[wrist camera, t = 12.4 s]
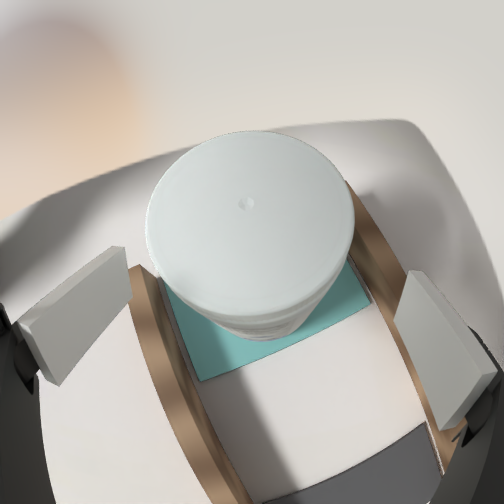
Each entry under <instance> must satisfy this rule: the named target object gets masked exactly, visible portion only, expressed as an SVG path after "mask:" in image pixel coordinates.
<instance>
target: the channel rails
mask: <svg viewBox="0 0 504 504" xmlns="http://www.w3.org/2000/svg"><path fill="white" fill-rule="evenodd" d="M345 182H346V184H347V186H348V189H349V191H350V194H351V198H352V202H353V207H354V216H355V224H354V233H353V239H352V242H351V245H350V248H349V251H348V252H349V254H350V255H351V257H352V259H353V261H354V262H355V264H356V266H357V268H358V270H359V271H360V273H361V275H362V277H363V279H364V281H365V282H366V284H367V286H368V288H369V290H370V292H371V294H372V296H373V298H374V299H375V301H376V303H377V305H378V307H379V309H380V311H381V313H382V315H383V317H384V319H385V321H386V323H387V325H388V327H389V329H390V332H391V334H392V336H393V338H394V340H395V342H396V344H397V346H398V349H399V351H400V353H401V355H402V357H403V360H404V362H405V364H406V367H407V369H408V371H409V374H410V376H411V378H412V381H413V383H414V386H415V388H416V390H417V393H418V395H419V398H420V401H421V403H422V406H423V408H424V411H425V414H426V416H427V419H428V422H429V425H430V428H431V430H432V433H433V436H434V439H435V442H436V445H437V449H438V452H439V455H440V458H441V462H442V465H443V469H444V472H446V469H447V467H448V465H449V463H450V460H451V458H452V455H453V453H454V450H455V448H456V445H457V442H458V440H459V437H458V438H457V439H456V440H455V441H454V442H451V441H452V439H453V438H454V437H455V435H456V434H457V433H458V432H459V431H460V430H461V429H462V428H463V427H464V426H465V425H466V423H467V421H466V418H465V416H464V418H463V419H462V420H461V421H460V422H459V423H458V425H457V426H456V427H454V428H450V429H446V430H442V431H439V429H438V426H437V424H436V421H435V418H434V415H433V412H432V409H431V407H430V404H429V401H428V399H427V396H426V394H425V391H424V388H423V386H422V383H421V381H420V379H419V376H418V374H417V371H416V369H415V367H414V364H413V362H412V360H411V358H410V355H409V353H408V351H407V349H406V346H405V344H404V342H403V340H402V338H401V336H400V333H399V331H398V329H397V327H396V325H395V323H394V321H393V320H394V317H395V314H396V311H397V308H398V305H399V302H400V299H401V296H402V292H403V289H404V286H405V282H406V279H407V276H406V274H405V272H404V270H403V269H402V267H401V265H400V263H399V262H398V260H397V258H396V256H395V255H394V253H393V251H392V250H391V248H390V246H389V245H388V243H387V241H386V240H385V238H384V236H383V235H382V233H381V232H380V230H379V228H378V227H377V225H376V224H375V222H374V221H373V219H372V217H371V216H370V214H369V213H368V211H367V210H366V208H365V207H364V205H363V204H362V202H361V201H360V200H359V198H358V197H357V195H356V194H355V192H354V191H353V190H352V188H351V187H350V185H349V184H348V183H347V181H346V180H345ZM128 273H129V279H130V284H131V290H132V295H133V297H132V299H131V300H130V301H129V302H128V304H129V308H130V312H131V316H132V319H133V323H134V326H135V330H136V333H137V336H138V340H139V343H140V346H141V349H142V352H143V355H144V358H145V361H146V364H147V367H148V370H149V372H150V375H151V378H152V381H153V383H154V386H155V389H156V391H157V394H158V396H159V399H160V401H161V404H162V406H163V409H164V411H165V413H166V416H167V418H168V420H169V422H170V425H171V427H172V429H173V431H174V434H175V436H176V438H177V440H178V442H179V444H180V446H181V448H182V450H183V452H184V454H185V456H186V458H187V460H188V462H189V464H190V466H191V468H192V469H193V471H194V473H195V475H196V477H197V479H198V480H199V482H200V484H201V486H202V487H203V489H204V491H205V492H206V494H207V496H208V497H209V499H210V501H211V502H212V504H254V503H253V501H252V500H251V498H250V496H249V495H248V493H247V491H246V490H245V488H244V486H243V484H242V483H241V481H240V479H239V477H238V476H237V474H236V472H235V470H234V468H233V466H232V465H231V463H230V461H229V459H228V457H227V455H226V453H225V451H224V449H223V447H222V445H221V443H220V441H219V439H218V437H217V435H216V433H215V431H214V429H213V427H212V425H211V423H210V421H209V418H208V416H207V414H206V412H205V410H204V407H203V405H202V403H201V401H200V398H199V396H198V394H197V391H196V389H195V387H194V384H193V382H192V379H191V377H190V374H189V372H188V369H187V367H186V364H185V362H184V359H183V356H182V354H181V351H180V348H179V346H178V343H177V340H176V337H175V335H174V332H173V329H172V326H171V323H170V320H169V317H168V314H167V311H166V308H165V305H164V302H163V299H162V295H161V292H160V289H159V286H158V282H157V279H156V277H154V276H153V275H152V274H151V273H149V272H148V271H147V270H146V269H145V268H143V267H142V266H141V265H140V264H139V265H137V266H135V267H132V268H130V269H128Z"/></svg>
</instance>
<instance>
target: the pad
mask: <svg viewBox="0 0 504 504" xmlns="http://www.w3.org/2000/svg"><path fill="white" fill-rule="evenodd" d="M163 281H164V280H163ZM164 284H165V288H166V291H167V294H168V297H169V300H170V303H171V306H172V309H173V312H174V315H175V318H176V321H177V324H178V326H179V329H180V332H181V335H182V338H183V340H184V343H185V346H186V348H187V351H188V354H189V356H190V359H191V361H192V364H193V366H194V369H195V371H196V374H197V376H198V379H199V381H200V382H201V381H204V380H207V379H210V378H212V377H215V376H218V375H220V374H223V373H226V372H228V371H231V370H233V369H236V368H239V367H241V366H244V365H246V364H248V363H251V362H253V361H256V360H258V359H261V358H263V357H265V356H268V355H270V354H272V353H274V352H277V351H279V350H281V349H283V348H286V347H288V346H290V345H292V344H294V343H296V342H299V341H301V340H303V339H305V338H307V337H309V336H311V335H313V334H315V333H317V332H319V331H321V330H323V329H325V328H327V327H329V326H331V325H333V324H335V323H337V322H339V321H341V320H342V319H344V318H346V317H348V316H350V315H352V314H354V313H355V312H357V311H359V310H361V309H363V308H364V307H366V306H368V305H370V302H369V300H368V298H367V296H366V294H365V292H364V290H363V288H362V286H361V284H360V283H359V281H358V279H357V277H356V275H355V273H354V272H353V270H352V268H351V266H350V264H349V263H348V261H347V259H346V261H345V263H344V265H343V268H342V270H341V272H340V273H339V275H338V277H337V278H336V280H335V281H334V283H333V284H332V286H331V287H330V289H329V290H328V291H327V293H326V294H325V295H324V297H323V298H322V299H321V301H320V302H319V303H318V304H317V306H316V307H315V308H314V310H313V311H312V312H311V313H310V315H309V316H308V317H307V319H306V320H305V321H304V322H303V323H302V324H301V325H300V326H299V327H298V328H297V329H296V330H295V331H294V332H292V333H291V334H289V335H287V336H285V337H283V338H280V339H277V340H274V341H268V342H253V341H248V340H245V339H242V338H240V337H238V336H236V335H234V334H232V333H230V332H229V331H227V330H225V329H224V328H222V327H220V326H219V325H217V324H215V323H214V322H212V321H211V320H209V319H207V318H206V317H204V316H203V315H201V314H200V313H198V312H197V311H195V310H194V309H192V308H191V307H190V306H188V305H187V304H185V303H184V302H183V301H182V300H181V299H180V298H179V297H178V296H177V295H176V294H175V293H174V292H173V291H172V290H171V288H170V287H169V286H168V284H167V283H166V282H165V281H164Z"/></svg>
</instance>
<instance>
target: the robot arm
mask: <svg viewBox="0 0 504 504" xmlns="http://www.w3.org/2000/svg"><path fill="white" fill-rule="evenodd" d="M132 297H133V295H132V290H131V284H130V279H129V273H128V267H127V260H126V253H125V247H117V246H111V247H110V248H109V249H107V250H106V251H104V252H103V253H102V254H100V255H99V256H97V257H96V258H95V259H93V260H92V261H90V262H89V263H88V264H86V265H85V266H84V267H82V268H81V269H80V270H78V271H77V272H76V273H74V274H73V275H72V276H70V277H69V278H68V279H67V280H65V281H64V282H63V283H61V284H60V285H59V286H58V287H56V288H55V289H54V290H53V291H51V292H50V293H49V294H47V295H46V296H45V297H44V298H42V299H41V300H40V301H39V302H38V303H36V304H35V305H34V306H33V307H32V308H30V309H29V310H28V311H27V312H26V313H25V314H24V315H22V316H21V317H20V318H19V319H18V320H17V321H16V322H14V323H13V324H12V325H11V323H10V321H9V318H8V316H7V314H6V311H5V309H4V306H3V305H2V303H0V504H56V502H55V498H54V495H53V491H52V487H51V483H50V478H49V474H48V469H47V463H46V458H45V452H44V445H43V437H42V428H41V417H40V401H39V379H38V376H37V374H36V372H37V371H38V370H39V369H40V370H41V372H42V374H43V375H44V377H45V379H46V380H47V381H49V382H51V383H53V384H55V385H57V386H60V385H61V384H62V382H63V381H64V380H65V378H66V377H67V376H68V374H69V373H70V372H71V371H72V369H73V368H74V367H75V365H76V364H77V363H78V362H79V360H80V359H81V358H82V357H83V355H84V354H85V353H86V352H87V350H88V349H89V348H90V347H91V346H92V344H93V343H94V342H95V341H96V339H97V338H98V337H99V336H100V335H101V333H102V332H103V331H104V330H105V329H106V327H107V326H108V325H109V324H110V323H111V322H112V320H113V319H114V318H115V317H116V316H117V315H118V313H119V312H120V311H121V310H122V309H123V308H124V307H125V305H126V304H127V303H128V302H129V301H130V300H131V299H132ZM393 321H394V323H395V325H396V327H397V329H398V331H399V333H400V336H401V338H402V340H403V342H404V344H405V346H406V349H407V351H408V353H409V355H410V358H411V360H412V362H413V364H414V367H415V369H416V371H417V374H418V376H419V379H420V381H421V383H422V386H423V388H424V391H425V394H426V396H427V399H428V401H429V404H430V407H431V409H432V412H433V415H434V418H435V421H436V424H437V426H438V429H439V431H442V430H446V429H450V428H454V427H456V426H457V425H458V423H459V422H460V421H461V420H462V419H463V418H464V416H465V418H466V421H467V423H466V425H465V426H464V427H463V428H462V429H461V430H460V431H459V432H458V433H457V434H456V435H455V437H454V438H453V439H452V441H451V442H454V441H455V440H456V439H457V438H458V437H459V440H458V442H457V445H456V448H455V450H454V453H453V455H452V458H451V460H450V463H449V465H448V467H447V469H446V472H445V474H444V476H443V478H442V480H441V482H440V484H439V486H438V488H437V490H436V492H435V494H434V496H433V498H432V499H431V501H430V503H429V504H504V372H503V370H502V369H501V367H500V366H499V364H498V363H497V361H496V360H495V358H494V357H493V355H492V354H491V352H490V351H489V350H488V348H487V346H486V345H485V344H483V341H482V339H481V338H480V337H479V335H478V334H477V333H476V332H475V331H474V330H473V329H471V328H470V327H469V326H467V325H466V324H465V322H464V321H463V320H462V318H461V317H460V316H459V314H458V313H457V312H456V310H455V309H454V308H453V307H452V305H451V304H450V303H449V302H448V300H447V299H446V298H445V297H444V296H443V294H442V293H441V292H440V291H439V290H438V288H437V287H436V286H435V285H434V284H433V282H432V281H431V280H430V279H429V278H428V277H427V276H426V274H425V273H424V272H423V271H416V270H409V272H408V275H407V279H406V282H405V286H404V289H403V292H402V296H401V299H400V302H399V305H398V308H397V311H396V314H395V317H394V320H393Z"/></svg>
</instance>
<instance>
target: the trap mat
mask: <svg viewBox="0 0 504 504" xmlns="http://www.w3.org/2000/svg"><path fill="white" fill-rule="evenodd" d="M441 480H442V479H441V475H440V472H439V468H438V465H437V462H436V459H435V456H434V452H433V449H432V446H431V443H430V440H429V437H428V435H427V432H426V429H425V426H424V424H420V425H419V426H418V427H416V428H415V429H414V430H412V431H411V432H409V433H408V434H407V435H405V436H404V437H402V438H401V439H399V440H398V441H396V442H395V443H393V444H392V445H390V446H388V447H387V448H385V449H384V450H382V451H380V452H379V453H377V454H375V455H374V456H372V457H370V458H368V459H367V460H365V461H363V462H361V463H359V464H357V465H356V466H354V467H352V468H350V469H348V470H346V471H344V472H342V473H340V474H338V475H336V476H333V477H331V478H329V479H327V480H325V481H322V482H320V483H318V484H315V485H313V486H311V487H308V488H306V489H303V490H300V491H298V492H295V493H292V494H289V495H287V496H284V497H281V498H278V499H275V500H271V501H268V502H265V503H262V504H426V503H428V502H429V501H431V499H432V498H433V496H434V494H435V492H436V490H437V488H438V486H439V484H440V482H441Z"/></svg>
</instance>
